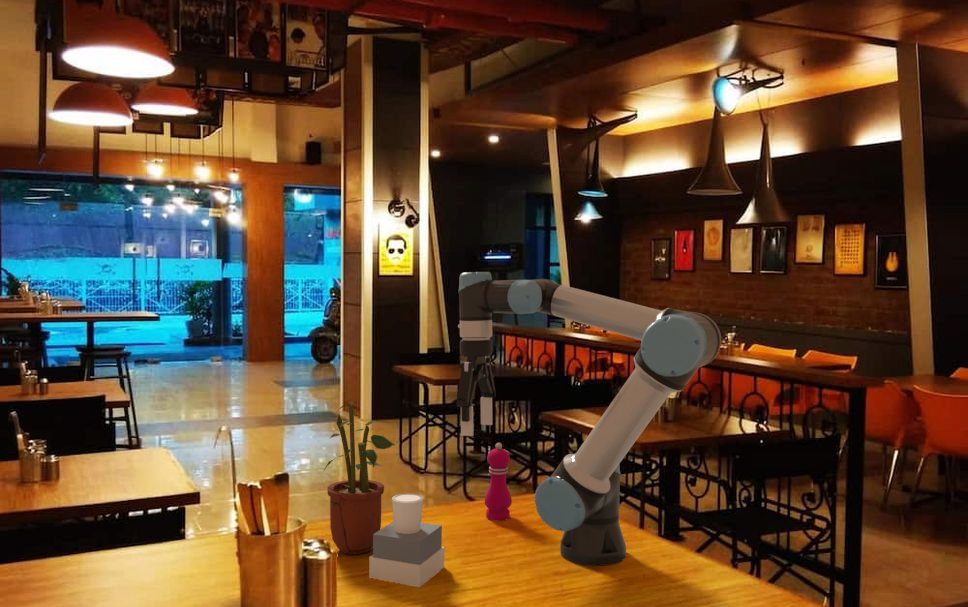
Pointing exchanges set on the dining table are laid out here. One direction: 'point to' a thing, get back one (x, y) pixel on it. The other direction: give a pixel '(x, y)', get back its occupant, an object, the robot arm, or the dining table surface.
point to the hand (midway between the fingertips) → (477, 430)
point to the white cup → (407, 513)
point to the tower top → (407, 543)
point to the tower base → (406, 569)
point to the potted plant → (356, 493)
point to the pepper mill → (498, 485)
